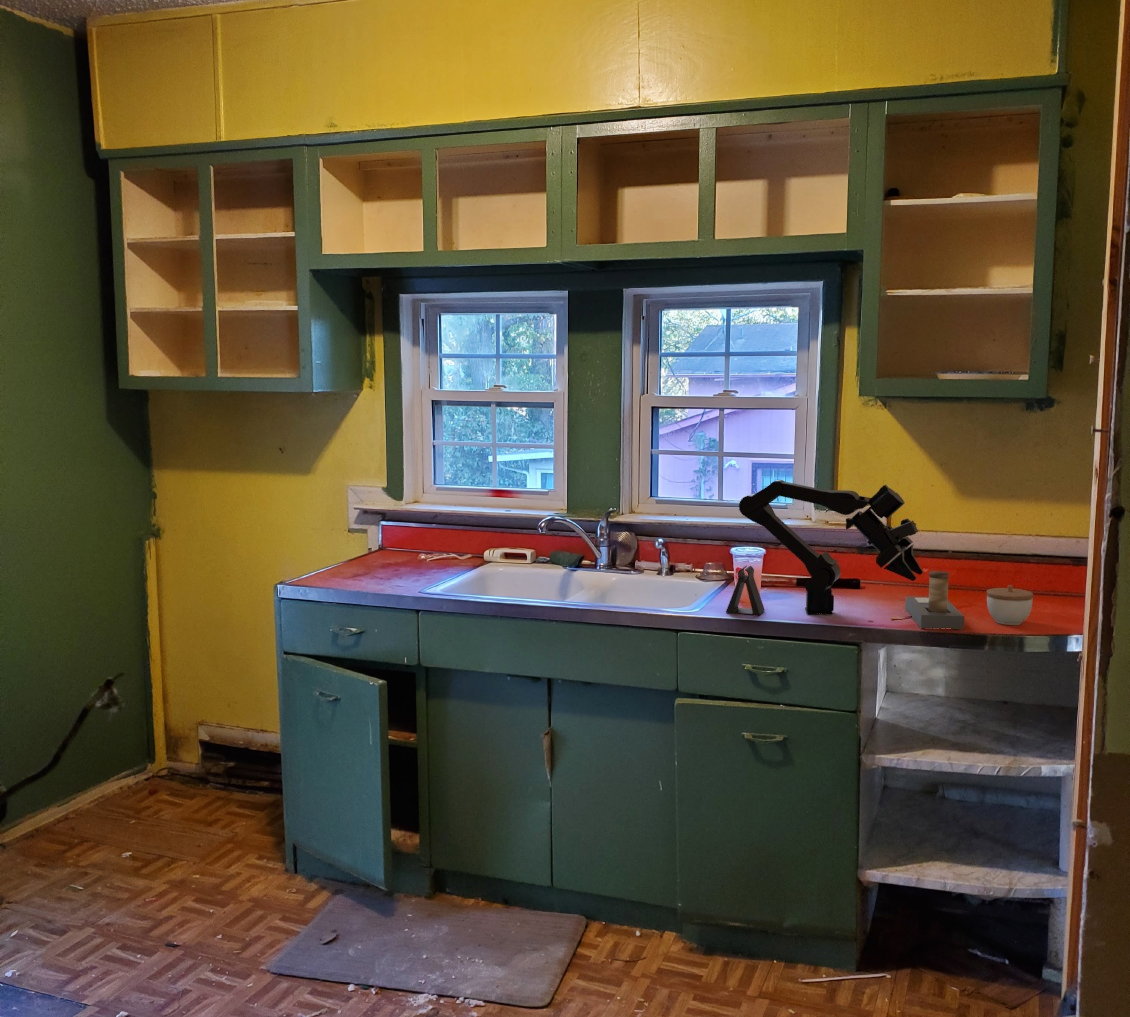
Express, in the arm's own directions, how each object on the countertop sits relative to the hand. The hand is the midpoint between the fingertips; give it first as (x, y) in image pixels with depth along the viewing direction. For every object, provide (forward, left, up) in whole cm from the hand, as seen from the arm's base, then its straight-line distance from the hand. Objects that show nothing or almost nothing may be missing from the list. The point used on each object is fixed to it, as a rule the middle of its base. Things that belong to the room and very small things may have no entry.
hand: (918, 576), depth 262 cm
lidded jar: (+23, +2, -12) cm, 26 cm away
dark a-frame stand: (-42, +6, -12) cm, 44 cm away
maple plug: (+5, -2, -12) cm, 13 cm away
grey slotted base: (+5, +3, -12) cm, 13 cm away
